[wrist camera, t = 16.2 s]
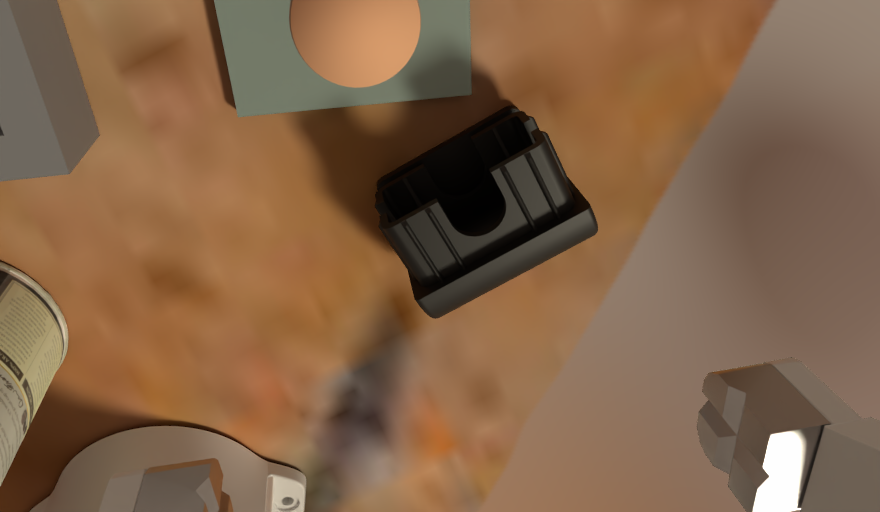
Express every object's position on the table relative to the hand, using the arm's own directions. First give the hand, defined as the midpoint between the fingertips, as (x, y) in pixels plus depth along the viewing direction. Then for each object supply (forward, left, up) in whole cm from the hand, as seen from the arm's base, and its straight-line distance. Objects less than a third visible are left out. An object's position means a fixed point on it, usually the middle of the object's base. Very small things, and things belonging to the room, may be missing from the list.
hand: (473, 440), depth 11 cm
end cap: (-8, -5, -27) cm, 29 cm away
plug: (+4, +1, -26) cm, 26 cm away
